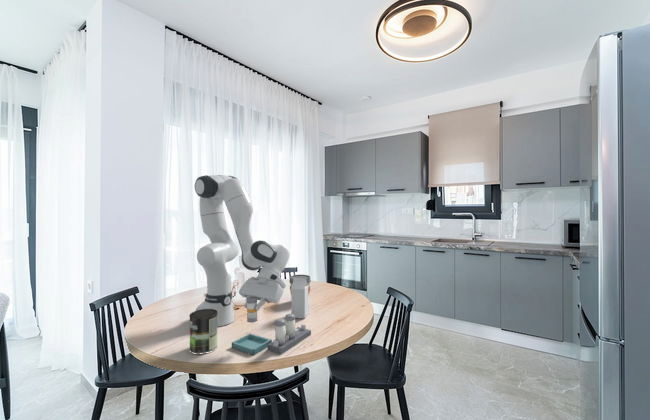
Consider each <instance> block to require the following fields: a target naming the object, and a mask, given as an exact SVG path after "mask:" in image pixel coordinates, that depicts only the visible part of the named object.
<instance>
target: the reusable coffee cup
mask: <svg viewBox="0 0 650 420" xmlns="http://www.w3.org/2000/svg"><path fill="white" fill-rule="evenodd" d="M293 279H307V284H308V296H309V295H310V290H311V276H310V275H308V274H293V275H291V276H289V285H290V286H289V290H290V293H291V287H292V284H293Z"/></svg>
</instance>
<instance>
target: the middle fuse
mask: <svg viewBox="0 0 650 420" xmlns="http://www.w3.org/2000/svg"><path fill="white" fill-rule="evenodd" d="M295 328H296V318H295V314H291V313H287V314H285V334H287V335H289V339H294V338H295Z"/></svg>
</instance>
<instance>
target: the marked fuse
mask: <svg viewBox="0 0 650 420" xmlns="http://www.w3.org/2000/svg"><path fill="white" fill-rule="evenodd" d="M257 304H258V300H257V297H248V298H247V308H246V311H247V315H246V316H247V318H246V322H247V323H250V324H251V323H256V322H258V311H257V310H255V309H254V307H255V305H257Z"/></svg>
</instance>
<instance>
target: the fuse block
mask: <svg viewBox="0 0 650 420" xmlns="http://www.w3.org/2000/svg"><path fill="white" fill-rule="evenodd" d="M306 327H307V326H306V324H304V323H301V324H300V326H297V327H295V338H294V339H289V335H287V334H286V333H285V344H284V345H281V346H278V341H276V340H275V339H274V340H273V341H272V342H271V343H270V344H268V347H267V351H270V352H273V353H276V354H279V355H283V354H284V353H286V352H287V351H288V350H291V349H292V348H294V347H295V346H296V345H298V344H300V343H302V341H304V340H306V339H307V338H308V337H310V336H311V334H312V330H311V329H307V328H306Z"/></svg>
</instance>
